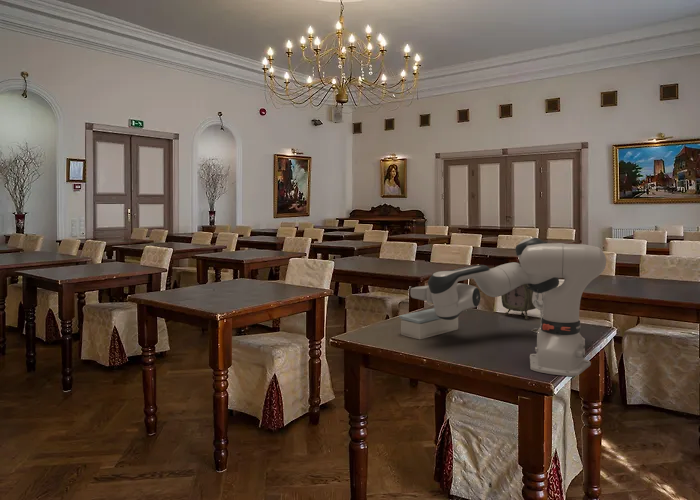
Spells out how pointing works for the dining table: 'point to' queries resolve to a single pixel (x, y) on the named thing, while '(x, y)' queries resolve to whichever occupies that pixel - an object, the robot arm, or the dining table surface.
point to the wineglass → (538, 306)
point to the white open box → (427, 328)
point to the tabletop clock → (518, 300)
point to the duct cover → (420, 316)
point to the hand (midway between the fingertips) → (417, 288)
